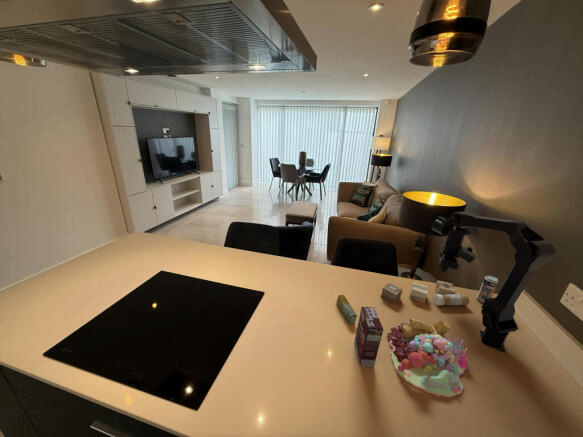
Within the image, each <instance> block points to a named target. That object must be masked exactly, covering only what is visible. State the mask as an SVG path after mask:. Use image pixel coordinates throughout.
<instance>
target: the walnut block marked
mask: <svg viewBox="0 0 583 437" xmlns="http://www.w3.org/2000/svg"><path fill="white" fill-rule="evenodd" d="M402 293H403V288H401V287H399V286H397V285H396V284H394V283H391V282H388V283H387V284H386V285H385V286H383V287H382V291H381V294H380V297H381V298H382V299H384V300H386V301H388V302H389V303H391V304H393V305H395V304H396V303H397V302H398V301H400V299H401V298H402V297H401V296H402Z"/></svg>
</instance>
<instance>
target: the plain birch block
mask: <svg viewBox="0 0 583 437" xmlns="http://www.w3.org/2000/svg"><path fill="white" fill-rule="evenodd" d="M428 287H429V286H427V285H424V284H420V283H418V282H414V281H412V285H411V287H410V292H409V295H408V297H409V299H412V300H415V301H418V302H420V303H422V304H425V302H426V298H427V296H428V290H429V288H428Z"/></svg>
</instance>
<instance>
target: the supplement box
mask: <svg viewBox="0 0 583 437" xmlns="http://www.w3.org/2000/svg"><path fill="white" fill-rule="evenodd" d="M359 311H360V313H359V316H358V317H359V318H358V323H357V327H356V333H355V337H354V343H353V344H354V347H355V351H356V355H357V361H358V365H359V366H362V367H375V365H376V361H377V360H376V359H377V356H378V352H379V347H380V345H381V341H382V337H383V332H384V327H383V325H382V322H381V320H380V318H379V317H380V316H379V315H378V312H377V311H378V310H377V309H376V307H371V306H361V307H360V310H359Z"/></svg>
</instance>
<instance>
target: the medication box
mask: <svg viewBox="0 0 583 437" xmlns="http://www.w3.org/2000/svg"><path fill="white" fill-rule="evenodd" d="M336 304H337V306H338V308H339V310H340V311H341V313H342V315H343V317H344V318H345V320H346V322H347V324H348V325H354V324H355V323H356V320H357V317H358V315H357V313H356V311H355V310H354V309H353V307H352V306H351V304H350V303H349V301H348V299H347V298H346V296H345V295H344V294H338V295H337V299H336Z"/></svg>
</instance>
